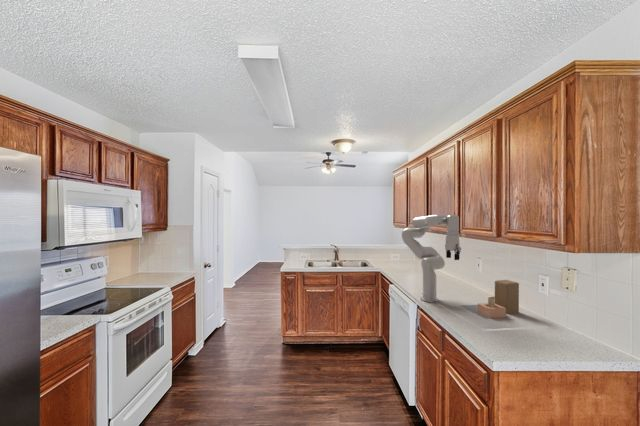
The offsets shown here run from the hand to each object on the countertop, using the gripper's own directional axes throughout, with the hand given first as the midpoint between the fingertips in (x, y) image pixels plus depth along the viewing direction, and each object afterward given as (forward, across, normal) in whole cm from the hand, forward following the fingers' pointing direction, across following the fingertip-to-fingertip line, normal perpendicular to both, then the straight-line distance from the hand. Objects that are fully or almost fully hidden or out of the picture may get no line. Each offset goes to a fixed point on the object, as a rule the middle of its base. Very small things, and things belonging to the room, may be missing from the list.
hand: (452, 258), depth 206 cm
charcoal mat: (+33, +11, +15) cm, 38 cm away
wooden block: (+34, +13, +30) cm, 47 cm away
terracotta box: (+32, +18, +15) cm, 40 cm away
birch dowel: (+31, +18, +15) cm, 39 cm away
